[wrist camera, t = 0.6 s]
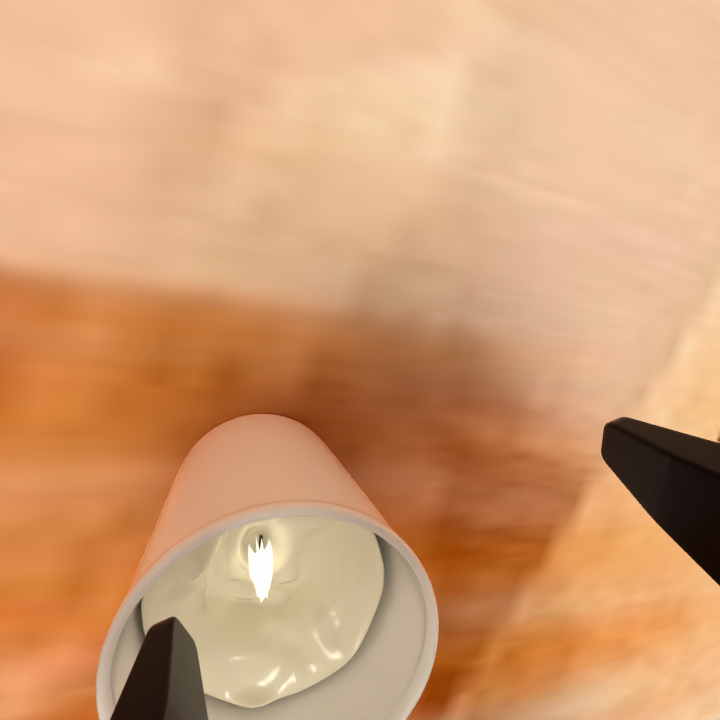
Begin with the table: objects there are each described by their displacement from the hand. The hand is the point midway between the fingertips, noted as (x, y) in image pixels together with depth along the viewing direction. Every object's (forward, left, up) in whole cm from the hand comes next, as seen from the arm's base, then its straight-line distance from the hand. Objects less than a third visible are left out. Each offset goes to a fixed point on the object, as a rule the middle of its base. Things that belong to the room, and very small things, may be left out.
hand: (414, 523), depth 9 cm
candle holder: (-7, +1, -16) cm, 18 cm away
